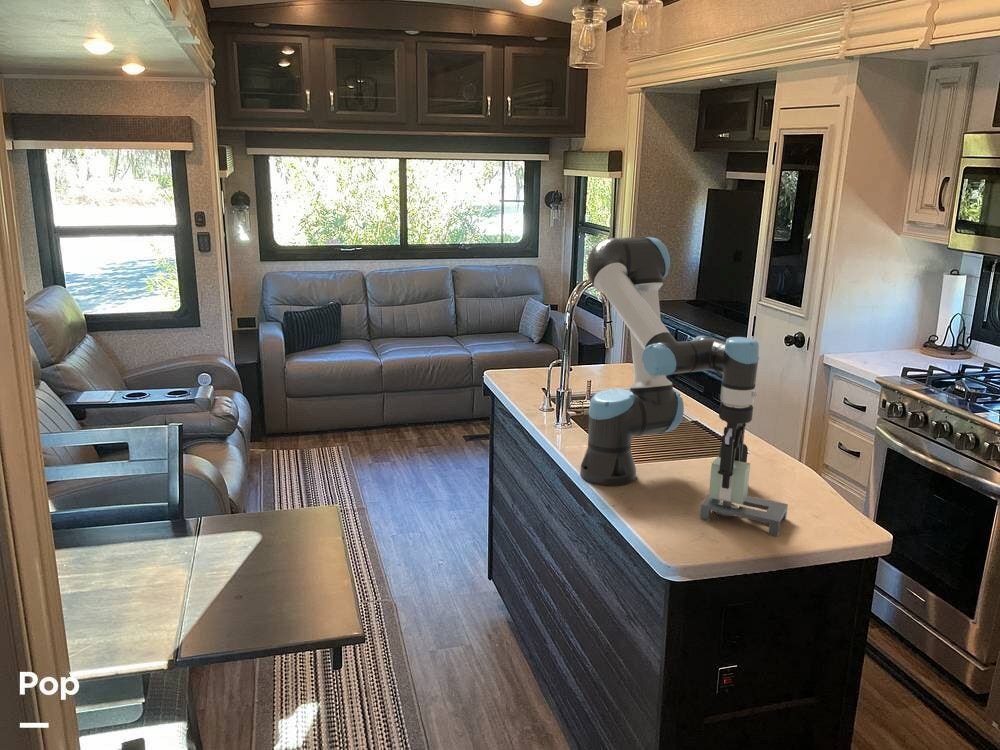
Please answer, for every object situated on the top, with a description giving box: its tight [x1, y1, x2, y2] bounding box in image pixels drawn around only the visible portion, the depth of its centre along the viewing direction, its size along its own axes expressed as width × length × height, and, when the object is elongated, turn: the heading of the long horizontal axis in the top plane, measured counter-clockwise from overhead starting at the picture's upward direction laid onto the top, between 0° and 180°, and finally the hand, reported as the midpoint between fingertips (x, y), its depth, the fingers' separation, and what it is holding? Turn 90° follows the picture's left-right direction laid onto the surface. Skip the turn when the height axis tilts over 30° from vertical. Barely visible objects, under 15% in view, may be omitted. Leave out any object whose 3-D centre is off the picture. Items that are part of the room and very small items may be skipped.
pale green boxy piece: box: [708, 456, 751, 517], centre depth 190 cm, size 8×6×12 cm
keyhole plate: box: [699, 494, 789, 537], centre depth 189 cm, size 18×11×4 cm, turn 60°
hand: (727, 495), depth 190 cm, fingers closed on pale green boxy piece, 5 cm apart
